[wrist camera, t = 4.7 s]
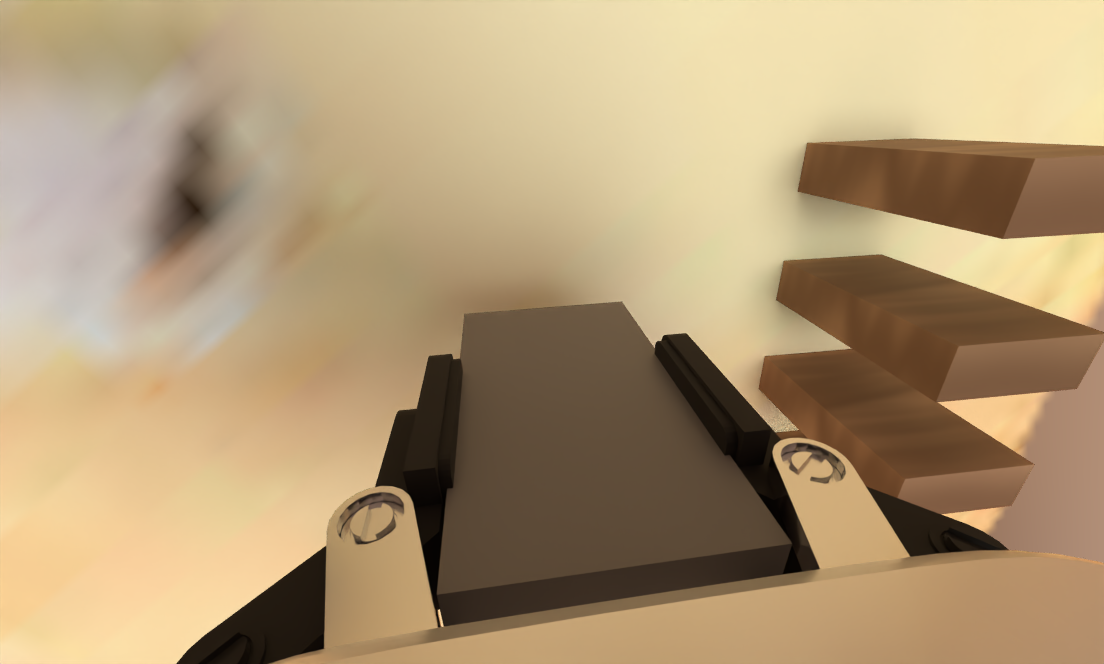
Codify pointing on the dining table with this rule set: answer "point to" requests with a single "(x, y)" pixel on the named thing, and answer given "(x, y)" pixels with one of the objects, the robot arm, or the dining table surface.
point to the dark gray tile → (586, 473)
